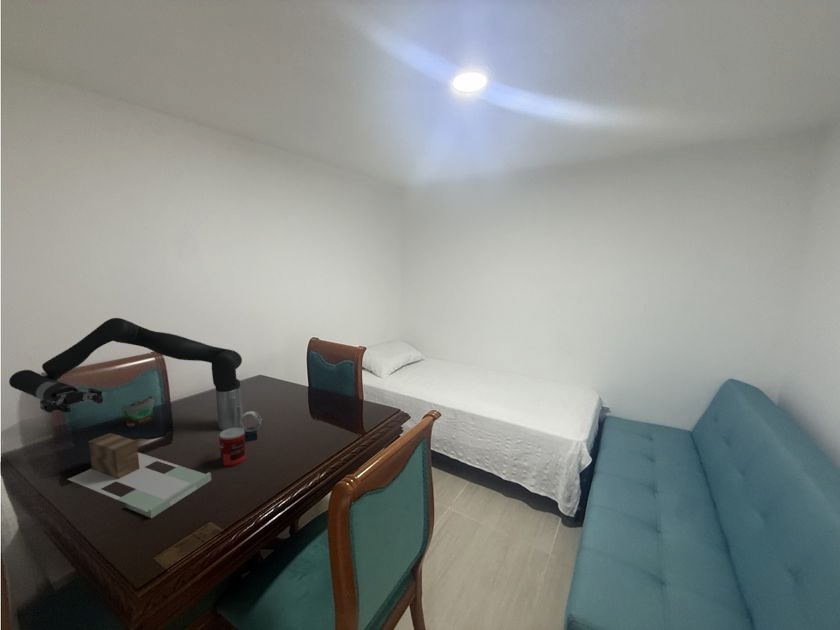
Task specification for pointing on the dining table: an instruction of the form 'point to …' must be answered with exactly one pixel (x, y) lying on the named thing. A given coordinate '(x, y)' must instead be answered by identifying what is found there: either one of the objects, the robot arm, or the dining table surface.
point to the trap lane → (148, 485)
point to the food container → (139, 412)
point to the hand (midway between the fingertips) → (85, 405)
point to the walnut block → (114, 455)
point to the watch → (252, 432)
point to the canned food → (232, 446)
